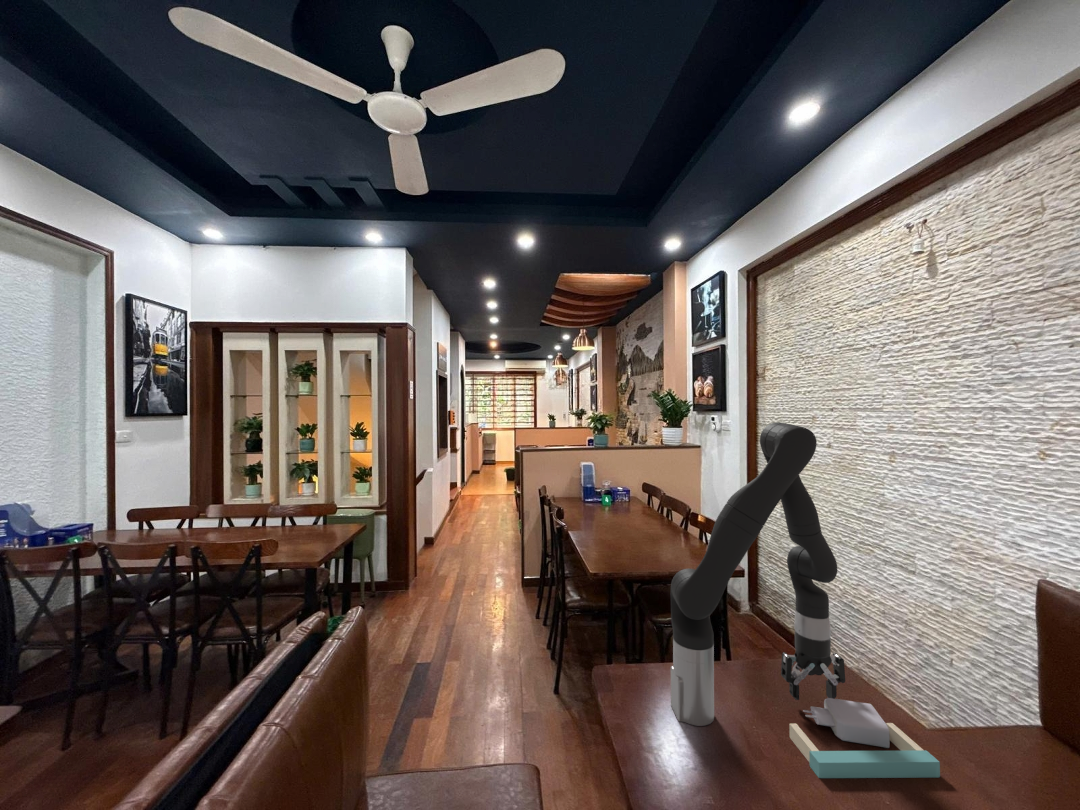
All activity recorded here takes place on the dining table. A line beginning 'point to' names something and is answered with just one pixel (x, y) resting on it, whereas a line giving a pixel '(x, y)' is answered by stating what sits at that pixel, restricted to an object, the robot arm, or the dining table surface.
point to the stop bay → (869, 759)
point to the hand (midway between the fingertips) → (813, 698)
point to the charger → (852, 721)
